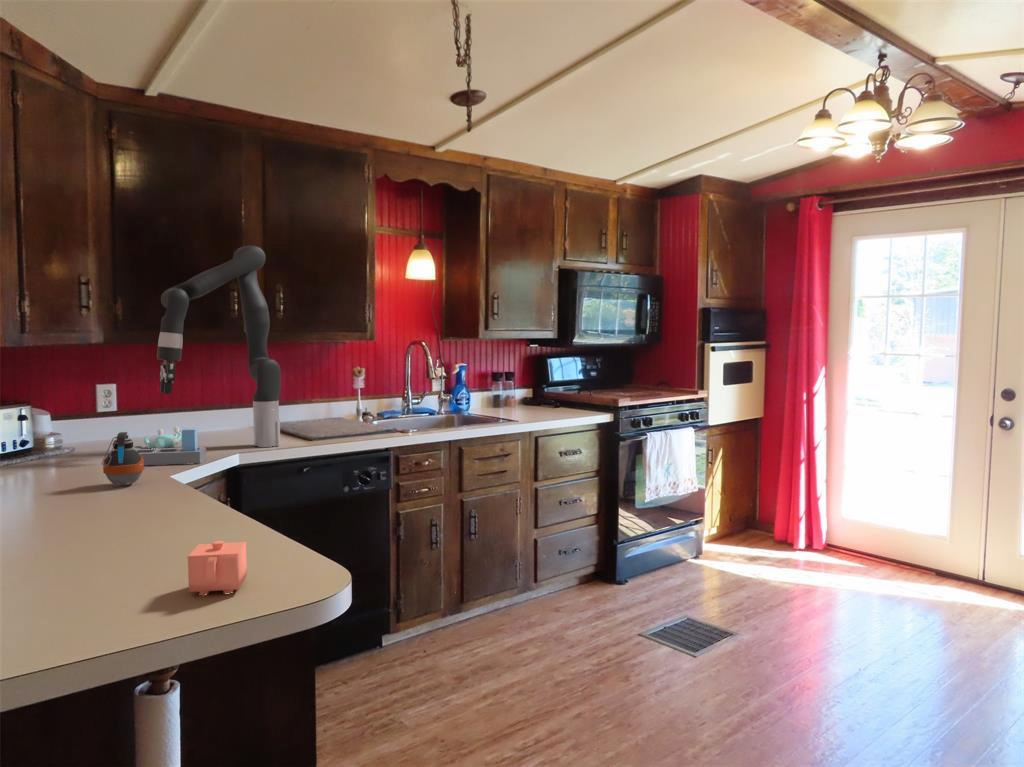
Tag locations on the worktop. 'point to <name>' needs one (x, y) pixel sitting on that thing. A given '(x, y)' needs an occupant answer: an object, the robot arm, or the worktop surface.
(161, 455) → the panel
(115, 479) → the grenade
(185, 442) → the plug
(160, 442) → the figurine
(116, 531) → the worktop surface
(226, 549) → the pink cube teapot
